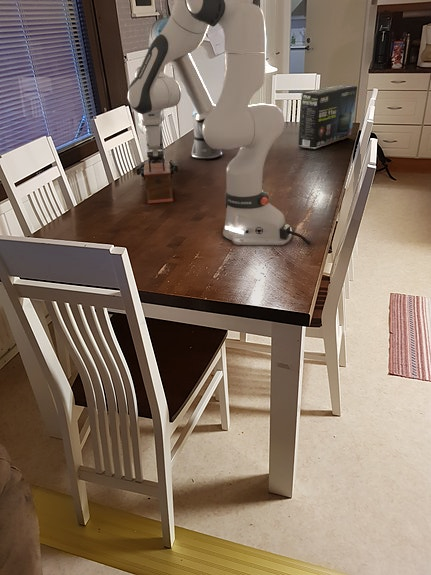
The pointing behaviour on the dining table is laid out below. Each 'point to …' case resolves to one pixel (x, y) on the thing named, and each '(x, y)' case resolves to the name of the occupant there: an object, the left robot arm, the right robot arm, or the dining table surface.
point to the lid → (156, 166)
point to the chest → (159, 189)
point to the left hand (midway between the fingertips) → (157, 175)
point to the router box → (326, 115)
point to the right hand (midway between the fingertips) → (155, 154)
